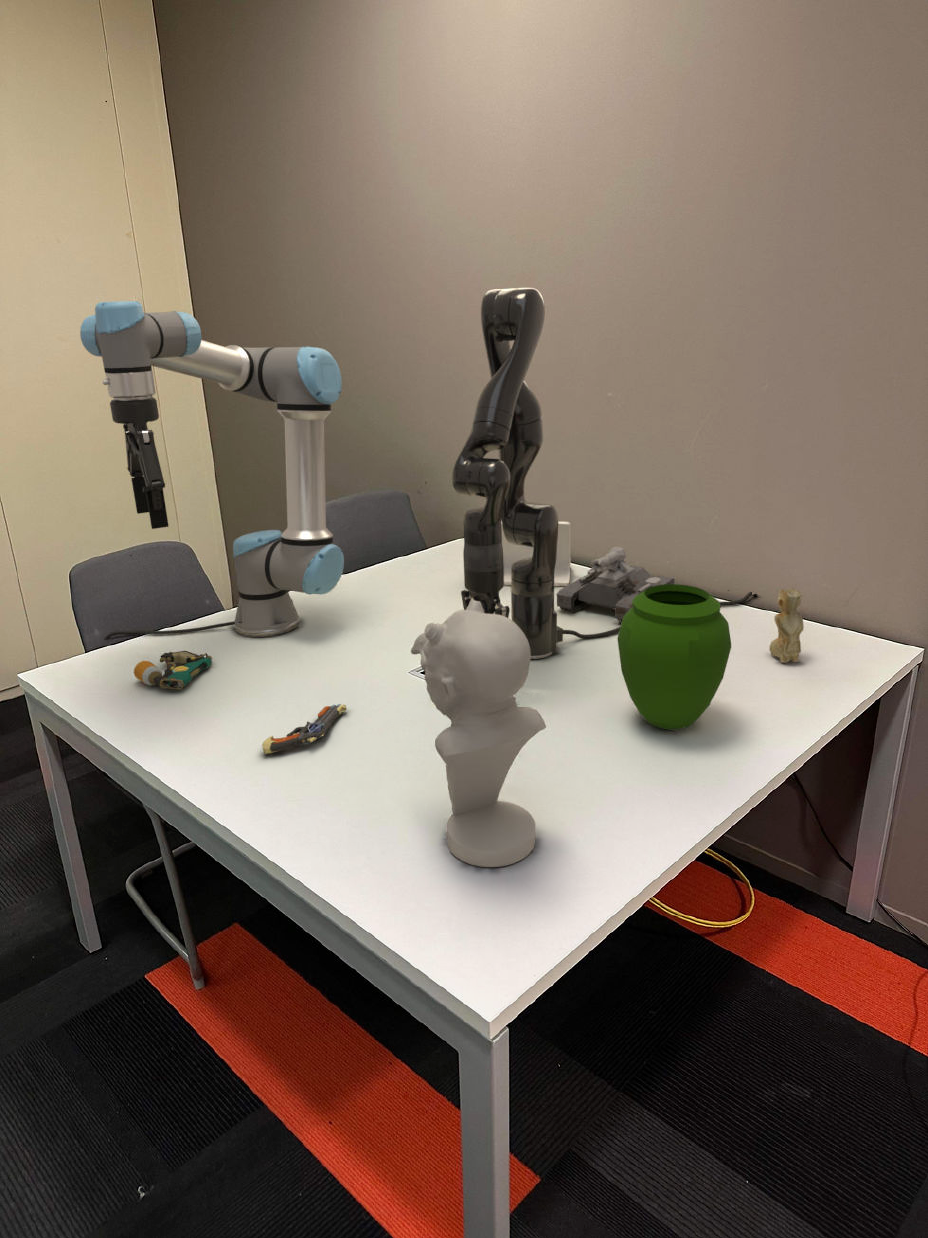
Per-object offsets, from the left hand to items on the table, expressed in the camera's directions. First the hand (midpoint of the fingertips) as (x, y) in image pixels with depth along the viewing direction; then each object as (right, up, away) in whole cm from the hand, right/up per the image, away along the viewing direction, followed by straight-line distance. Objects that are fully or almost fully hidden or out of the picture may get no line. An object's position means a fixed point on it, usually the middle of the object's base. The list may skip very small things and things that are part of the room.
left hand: (152, 519), depth 153 cm
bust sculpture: (+57, -49, -27) cm, 80 cm away
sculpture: (+124, -26, +28) cm, 129 cm away
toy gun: (+27, -39, +3) cm, 47 cm away
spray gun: (-5, -30, +28) cm, 41 cm away
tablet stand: (+73, -6, +86) cm, 113 cm away
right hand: (+60, -23, +14) cm, 66 cm away
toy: (+94, -14, +62) cm, 113 cm away
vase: (+93, -36, +3) cm, 100 cm away
